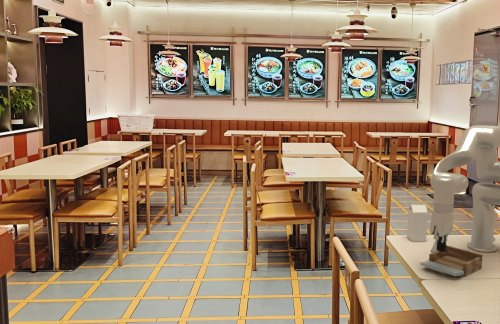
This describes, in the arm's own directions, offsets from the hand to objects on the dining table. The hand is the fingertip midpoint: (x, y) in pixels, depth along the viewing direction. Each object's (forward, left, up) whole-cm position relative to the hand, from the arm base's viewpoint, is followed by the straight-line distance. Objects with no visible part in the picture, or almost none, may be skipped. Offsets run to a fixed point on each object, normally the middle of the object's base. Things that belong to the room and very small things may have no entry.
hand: (441, 250), depth 190 cm
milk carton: (-33, -31, -10) cm, 46 cm away
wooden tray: (-12, 0, -10) cm, 16 cm away
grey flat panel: (-5, 0, -8) cm, 9 cm away
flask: (-24, -14, -10) cm, 30 cm away
